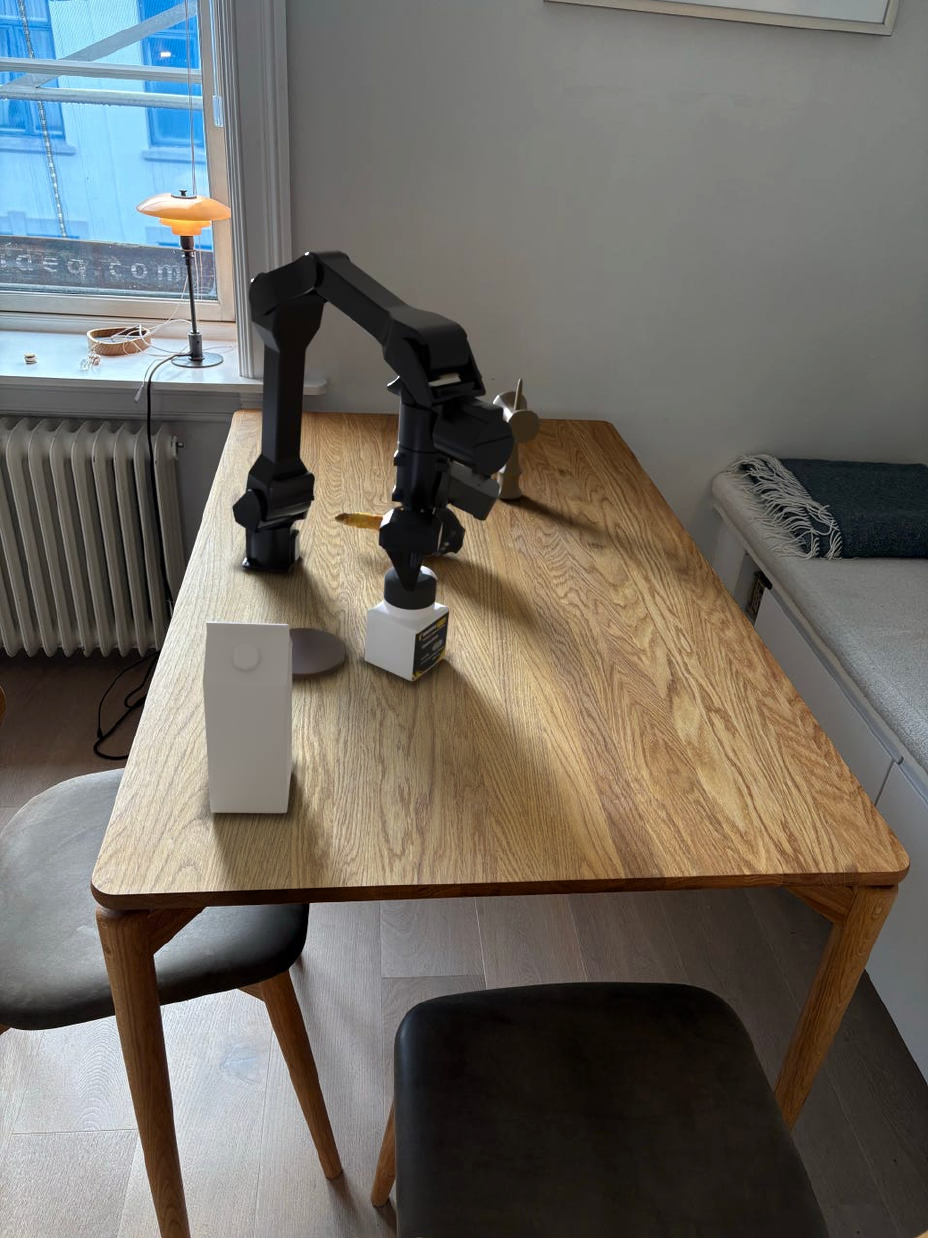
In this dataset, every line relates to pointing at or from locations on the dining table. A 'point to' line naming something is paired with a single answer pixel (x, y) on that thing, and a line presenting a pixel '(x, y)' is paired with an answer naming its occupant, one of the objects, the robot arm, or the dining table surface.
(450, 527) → the fried shrimp in bowl
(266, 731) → the milk carton
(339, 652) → the coaster
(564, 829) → the dining table surface
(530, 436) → the kendama
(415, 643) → the medicine bottle
